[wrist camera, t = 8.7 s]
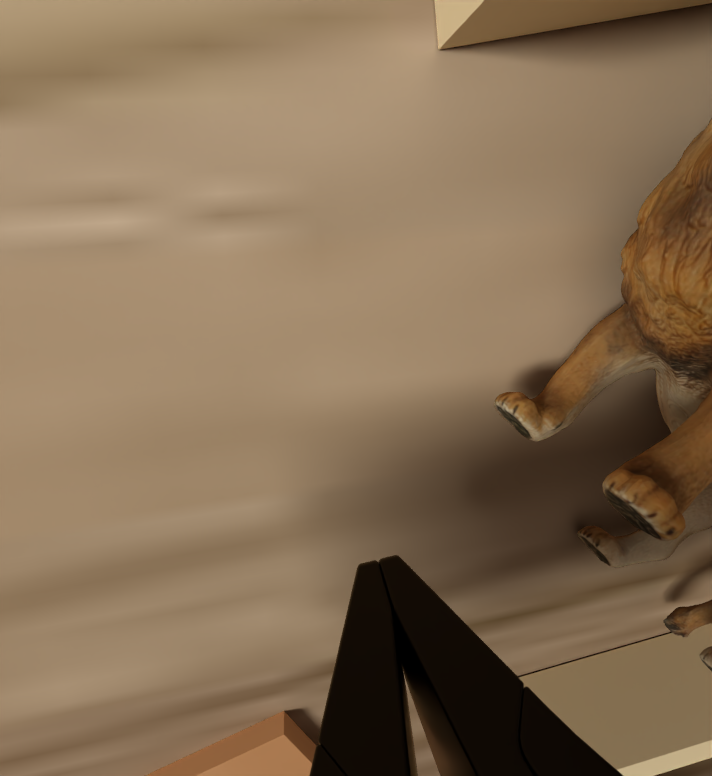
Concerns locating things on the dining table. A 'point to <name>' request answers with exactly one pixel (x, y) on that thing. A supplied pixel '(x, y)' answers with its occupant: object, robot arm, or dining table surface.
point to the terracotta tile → (251, 753)
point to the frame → (647, 658)
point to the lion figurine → (673, 377)
